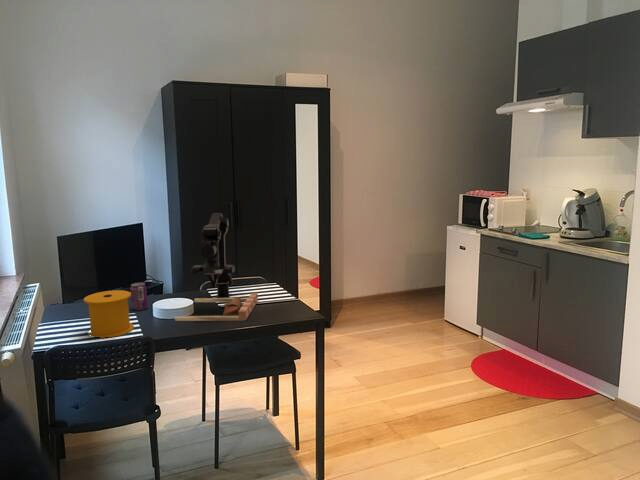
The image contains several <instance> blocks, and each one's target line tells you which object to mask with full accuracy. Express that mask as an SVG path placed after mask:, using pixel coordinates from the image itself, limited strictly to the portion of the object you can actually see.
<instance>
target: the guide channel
mask: <svg viewBox="0 0 640 480" xmlns="http://www.w3.org/2000/svg"><path fill="white" fill-rule="evenodd" d="M258 296H259V295H258V292H251V293H250V294H249V296H248V297H240V299H241V301H242V303H243V304H242V307H241V308H240V310H239V311H238V315H176V316H175V317H174V321H175V322H185V321H186V322H195V321H197V322H198V321H199V322H201V321H206V322H207V321H209V322H211V321H214V322H218V321H221V322H222V321H223V322H224V321H226V322H227V321H228V322H229V321H234V322H235V321H236V322H237V321H239V322H240V321H242V322H243V321H247V319H248V317H249V316H250V314H251V313H252V311H253V310H254V307H255V306H256V305H257V303H258V302H259V297H258ZM234 298H235V297H229V298H216V297H214V298H213V297H211V298H210V297H209V298H207V297H202V298H201V297H200V298H199V297H198V298H197V297H196V298H194V299H193V301H194V303H228V302H230V301H231V300H233V299H234ZM243 301H245V302H243ZM257 301H258V302H257Z"/></svg>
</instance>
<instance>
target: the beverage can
mask: <svg viewBox="0 0 640 480" xmlns="http://www.w3.org/2000/svg"><path fill="white" fill-rule="evenodd" d="M129 290H130V291H129V292H130V293H131V297H130V300H131V301H130V302H131V309H132V310H134V311H143V310H145V309H147V308H148V307H149V306H148V305H149V304H148V295H147V294H148V293H147V291H148V290H147V286H146V283H145V282H133V283H132V284H130V289H129Z"/></svg>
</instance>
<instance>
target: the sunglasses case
mask: <svg viewBox="0 0 640 480" xmlns="http://www.w3.org/2000/svg"><path fill="white" fill-rule="evenodd" d="M233 298H234V299H233V300H231V301H230V302H225V304H224V310H223V314H222V316H238V311H239V310H240V308H241V307H242V306H243V304H242V303H243V302H242V301H241V299H240V298H241V297H240V296H236V297H233Z"/></svg>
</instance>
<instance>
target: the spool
mask: <svg viewBox="0 0 640 480" xmlns="http://www.w3.org/2000/svg"><path fill="white" fill-rule="evenodd" d="M129 298H130V299H131V292H130V291H127V290H121V289H120V290H116V289H115V290H105V291H100V292H99V291H98V292H95V293H92V294H88V295H87V296H85V297H84V298H83V303H85V304H87V305H88V314H89V323H90V329H91V332H92V333H90V334H89V335H91V336H94V337H100V338H99V339H106V338H105V337H109V338H115V336H116V337H119V336H123V335H126V334H129V333H131V332H132V331H133V330H134V329H135V325H134V324H133V323H132V322H131V321H130V311H129Z"/></svg>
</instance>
